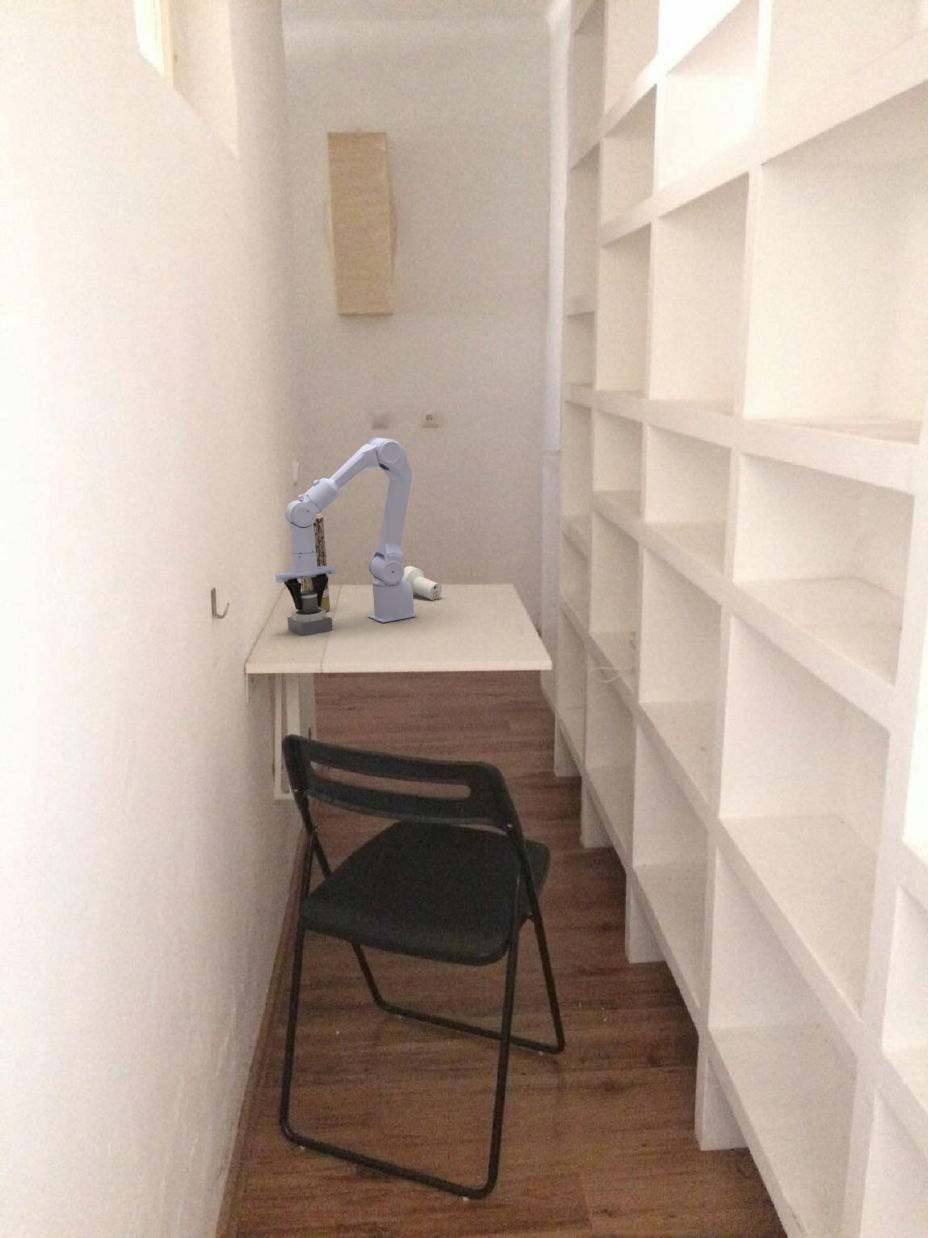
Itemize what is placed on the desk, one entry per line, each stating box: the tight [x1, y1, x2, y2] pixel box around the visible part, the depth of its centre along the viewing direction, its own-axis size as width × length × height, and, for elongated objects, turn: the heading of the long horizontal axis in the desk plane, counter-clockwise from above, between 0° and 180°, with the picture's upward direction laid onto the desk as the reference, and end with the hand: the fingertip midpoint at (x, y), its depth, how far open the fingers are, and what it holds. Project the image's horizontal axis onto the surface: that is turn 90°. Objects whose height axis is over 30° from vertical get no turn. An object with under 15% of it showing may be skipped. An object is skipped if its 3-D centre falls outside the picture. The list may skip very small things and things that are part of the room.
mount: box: [286, 608, 334, 637], centre depth 233 cm, size 8×8×4 cm
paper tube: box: [300, 513, 331, 612], centre depth 248 cm, size 7×7×25 cm
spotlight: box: [402, 565, 443, 601], centre depth 260 cm, size 8×11×8 cm
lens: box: [300, 590, 319, 615], centre depth 232 cm, size 4×4×6 cm
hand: (308, 607), depth 232 cm, fingers closed on lens, 4 cm apart
